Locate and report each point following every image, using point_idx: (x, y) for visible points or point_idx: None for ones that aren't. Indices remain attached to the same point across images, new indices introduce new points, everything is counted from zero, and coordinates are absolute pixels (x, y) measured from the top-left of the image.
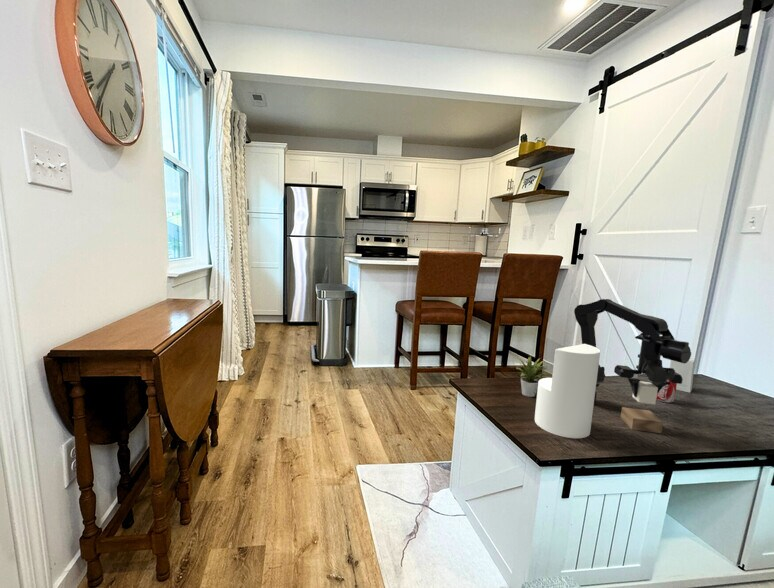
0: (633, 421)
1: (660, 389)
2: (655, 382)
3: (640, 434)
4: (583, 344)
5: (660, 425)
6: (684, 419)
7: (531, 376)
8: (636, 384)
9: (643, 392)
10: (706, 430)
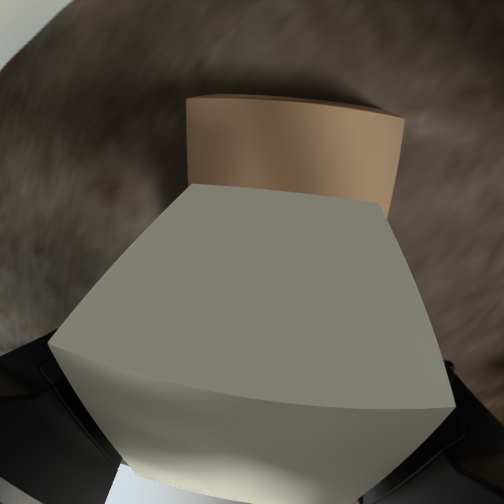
0: (393, 114)
1: (44, 336)
2: (73, 464)
3: (363, 49)
4: None
5: (210, 96)
6: (64, 283)
7: None
8: (468, 437)
9: (362, 284)
10: (23, 205)
